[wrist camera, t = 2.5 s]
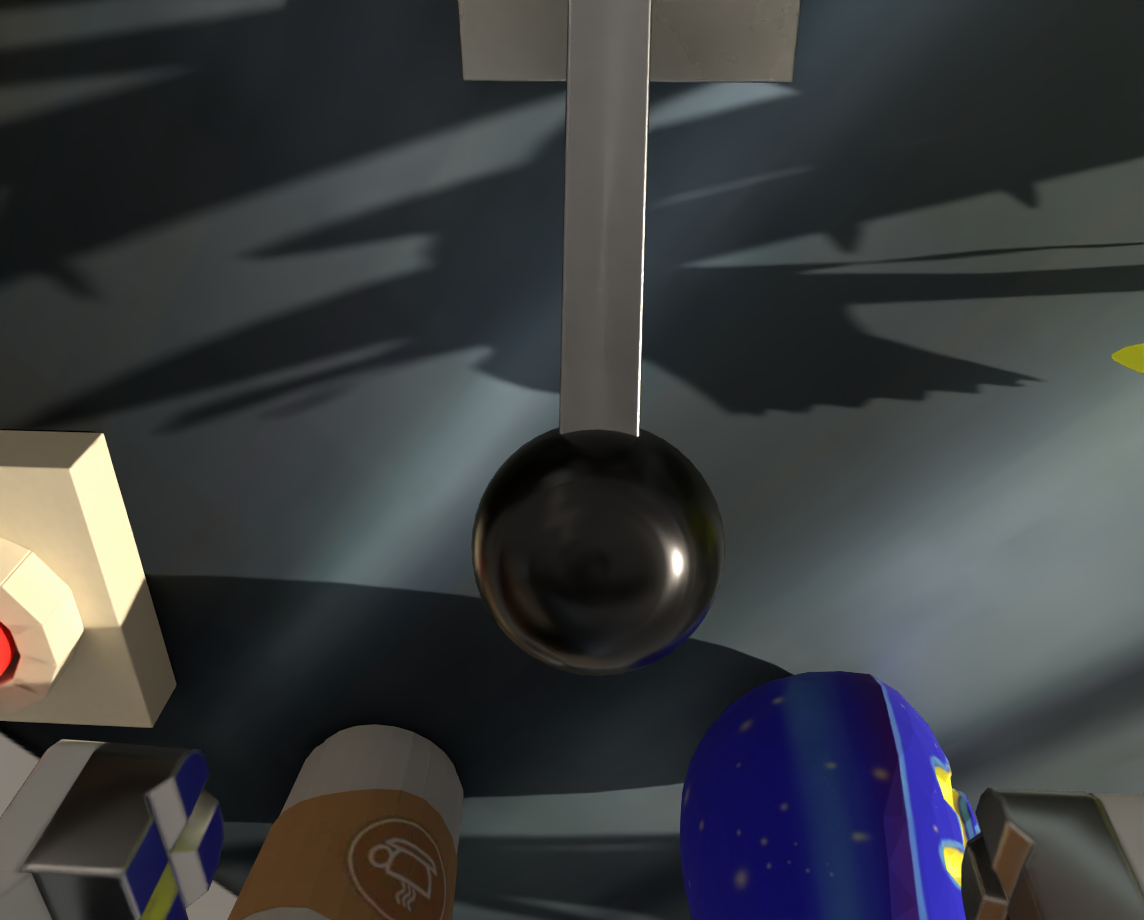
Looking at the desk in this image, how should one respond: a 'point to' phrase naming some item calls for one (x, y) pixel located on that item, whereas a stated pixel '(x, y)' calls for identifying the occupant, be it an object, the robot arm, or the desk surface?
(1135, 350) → the daffodil flowers
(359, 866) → the coffee cup
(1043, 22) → the desk surface
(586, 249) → the lever
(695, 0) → the metal bracket
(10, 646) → the button
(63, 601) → the block
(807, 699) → the ornament
